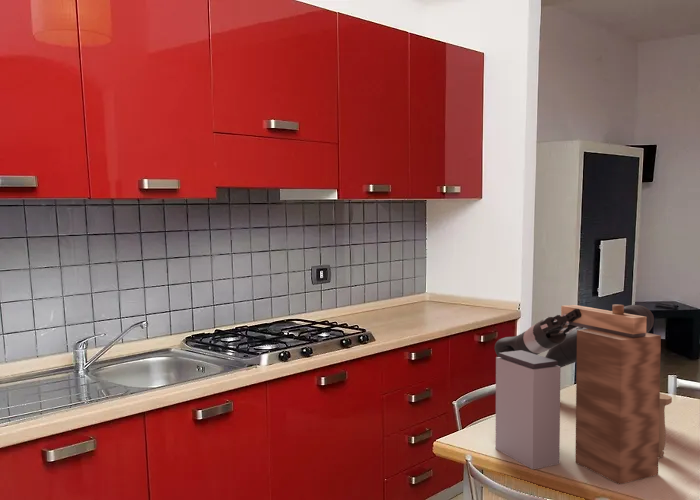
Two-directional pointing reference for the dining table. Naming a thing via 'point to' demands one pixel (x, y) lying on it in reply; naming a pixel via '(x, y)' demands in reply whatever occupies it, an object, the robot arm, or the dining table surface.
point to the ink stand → (528, 408)
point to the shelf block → (618, 404)
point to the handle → (662, 421)
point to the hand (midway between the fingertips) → (586, 311)
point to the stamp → (609, 320)
